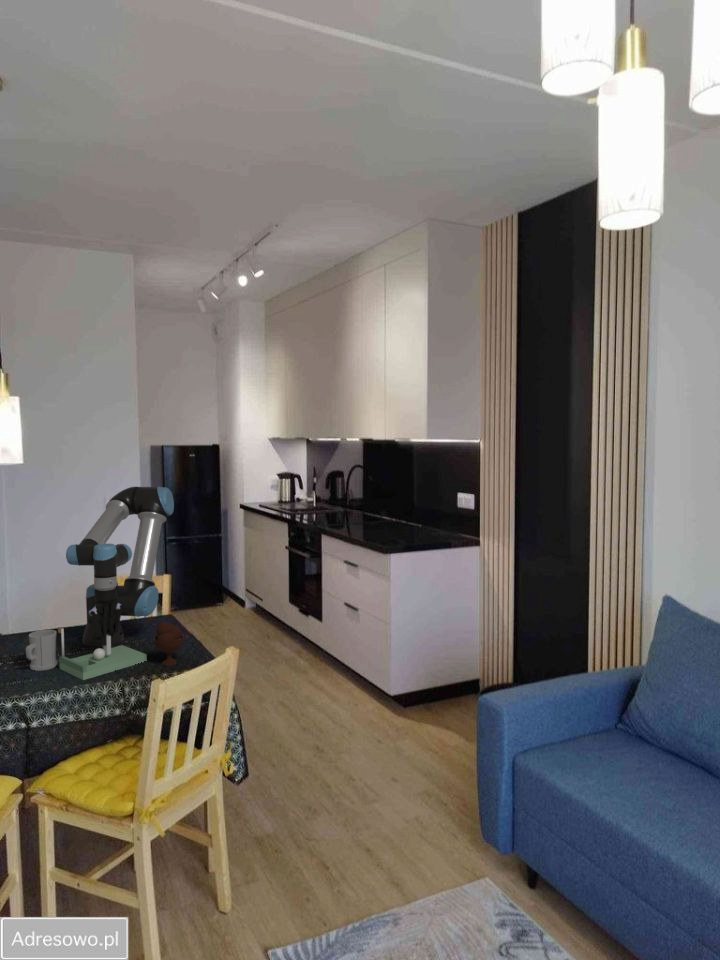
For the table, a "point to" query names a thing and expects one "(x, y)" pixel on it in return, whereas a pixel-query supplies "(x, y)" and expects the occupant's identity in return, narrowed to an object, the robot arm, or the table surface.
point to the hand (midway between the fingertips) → (107, 653)
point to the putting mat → (99, 661)
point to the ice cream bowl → (168, 641)
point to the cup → (42, 650)
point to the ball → (99, 654)
